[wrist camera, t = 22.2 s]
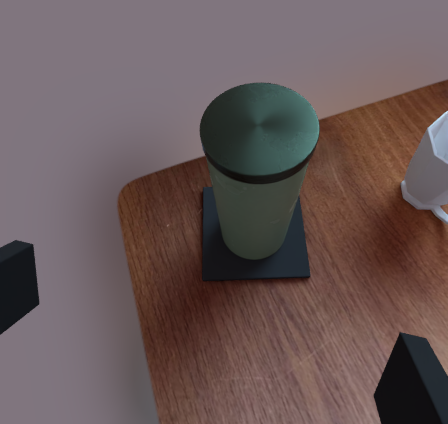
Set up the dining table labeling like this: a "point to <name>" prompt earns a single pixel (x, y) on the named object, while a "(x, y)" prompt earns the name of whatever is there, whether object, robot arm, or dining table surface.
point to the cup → (429, 171)
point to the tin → (257, 162)
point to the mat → (247, 268)
